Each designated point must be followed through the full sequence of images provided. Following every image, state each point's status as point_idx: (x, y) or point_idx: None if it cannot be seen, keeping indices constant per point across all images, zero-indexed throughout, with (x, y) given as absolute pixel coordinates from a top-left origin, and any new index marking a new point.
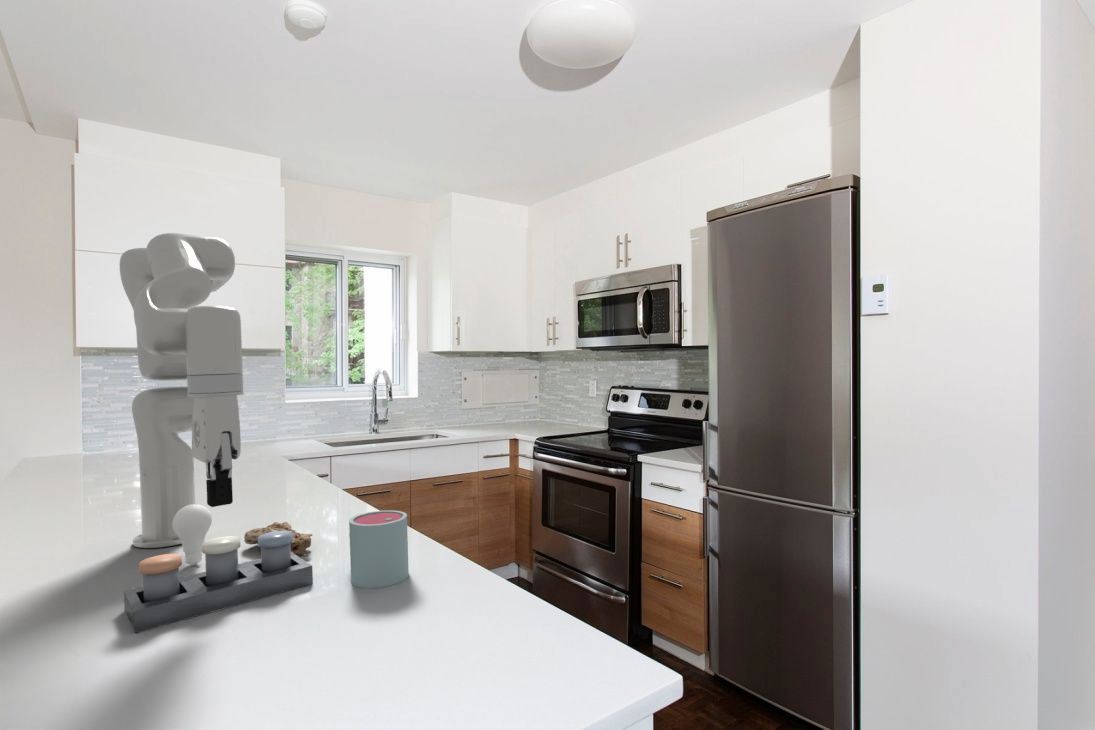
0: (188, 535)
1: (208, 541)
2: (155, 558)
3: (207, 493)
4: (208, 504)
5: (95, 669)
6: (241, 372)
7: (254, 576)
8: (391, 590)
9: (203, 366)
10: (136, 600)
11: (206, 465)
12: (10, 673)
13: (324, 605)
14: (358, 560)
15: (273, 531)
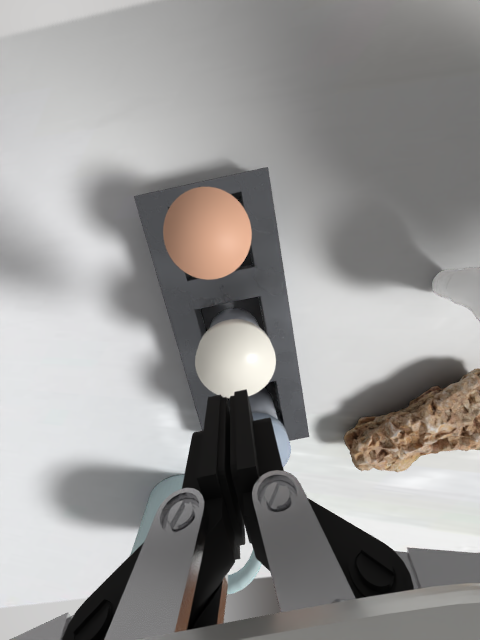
0: (474, 284)
1: (252, 337)
2: (226, 222)
3: (235, 418)
4: (235, 392)
5: (30, 159)
6: None
7: None
8: (131, 506)
9: None
10: None
11: (308, 565)
12: (70, 22)
13: (120, 437)
14: (153, 517)
15: (429, 428)
